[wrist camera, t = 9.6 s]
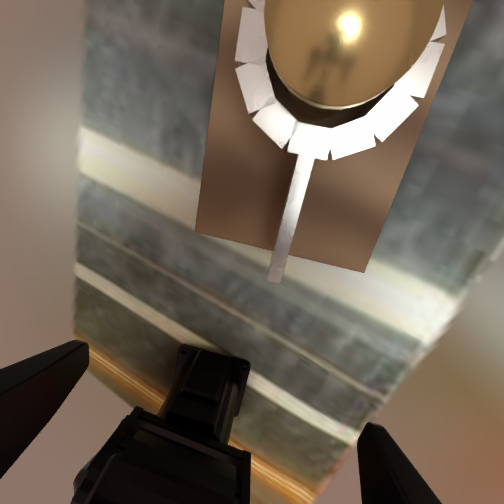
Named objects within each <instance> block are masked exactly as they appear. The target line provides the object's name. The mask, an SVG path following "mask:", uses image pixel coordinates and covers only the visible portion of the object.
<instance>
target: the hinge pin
mask: <svg viewBox="0 0 504 504" xmlns="http://www.w3.org/2000/svg"><path fill="white" fill-rule="evenodd" d="M443 4H444V0H265V6H264V24H265V33H266V39H267V44H268V48H269V53H270V57H271V60H272V63H273V66H274V68H275V70H276V72H277V74H278V76H279V78H280V79H281V81H282V82H283V84H284V85H285V86H286V87H287V89H288V96H289V100H290V103H291V105H292V107H293V108H294V110H295V111H296V112H297V113H298V114H299V115H300V116H301V117H303V118H305V119H307V120H311V121H322V120H326V119H329V118H331V117H333V116H334V115H336V114H337V113H338V112H339V111H340V110H341V109H346V108H351V107H355V106H358V105H361V104H363V103H365V102H368V101H370V100H372V99H373V98H375V97H376V96H378V95H380V94H381V93H383V92H384V91H385V90H387V89H388V88H389V87H391V86H392V85H393V84H394V83H396V82H397V81H398V80H399V79H401V78H402V77H403V76H404V75H405V74H406V73H407V72H408V71H409V70H410V69H411V67H412V66H413V65H414V64H415V62H416V61H417V60H418V59H419V57H420V56H421V54H422V53H423V51H424V50H425V48H426V47H427V45H428V43H429V41H430V39H431V37H432V35H433V33H434V31H435V28H436V26H437V24H438V21H439V18H440V15H441V11H442V8H443Z"/></svg>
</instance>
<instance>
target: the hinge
mask: <svg viewBox="0 0 504 504" xmlns="http://www.w3.org/2000/svg"><path fill="white" fill-rule="evenodd" d="M247 4H248V8H246V7H243V8H242V15H241V21H240V28H239V35H238V41H237V48H236V55H235V62H236V64H237V66H238V68H236V69H235V70H236V73H237V77H238V80H239V83H240V87H241V90H242V93H243V97H244V100H245V104H246V107H247V110H248V114H249V115H250V116H251V117H252V118H253V119H252V120H253V121H254V122H255V123H256V124H257V125H258V126H259V127H260V128H261V129H262V130H263V131H264V132H265V133H266V134H267V135H268V136H269V137H270V138H271V139H272V140H273V141H274V142H275V143H276V144H277V145H278V146H279V147H280V148H281V149H282V150H283V151H284V152H285V151H286V150H287V148H288V150H287V152H288V154H291V155H295V156H296V160H295V164H294V168H293V172H292V176H291V180H290V184H289V188H288V192H287V196H286V200H285V204H284V208H283V212H282V216H281V220H280V224H279V228H278V232H277V236H276V240H275V244H274V248H273V252H272V257H271V262H270V267H269V272H268V276H267V281H268V282H272V283H276V284H280V282H281V279H282V275H283V271H284V268H285V264H286V260H287V257H288V253H289V250H290V246H291V242H292V239H293V235H294V231H295V228H296V224H297V220H298V217H299V213H300V210H301V206H302V202H303V199H304V195H305V191H306V188H307V184H308V181H309V177H310V173H311V170H312V166H313V162H314V160H334V159H337V158H340V157H343V156H346V155H350V154H353V153H356V152H359V151H362V150H365V149H368V148H371V147H374V146H375V143H379V142H382V141H383V140H384V139H385V138H386V137H387V136H389V135H390V134H391V133H392V132H393V131H394V130H395V129H396V128H397V127H398V126H399V125H400V124H401V123H402V122H403V121H404V120H405V119H406V118H407V117H408V116H409V115H410V114H411V113H412V112H413V111H414V110H415V109H416V108H417V107H418V106H419V105H418V104H417V103H416V102H417V101H419V100H421V99H423V98H424V97H425V94H426V91H427V89H428V86H429V84H430V81H431V79H432V76H433V73H434V71H435V68H436V66H437V63H438V61H439V58H440V55H441V53H442V50H443V48H444V45H445V44H442V43H437V42H438V41H439V40H440V39H442V38H443V37H444V36H445V35H446V25H445V14H444V4H443V8H442V11H441V15H440V18H439V21H438V24H437V26H436V28H435V31H434V33H433V35H432V37H431V39H430V41H429V43H428V45H427V47H426V48H425V50H424V51H423V53H422V54H421V56H420V57H419V59H418V60H417V61H416V62H415V64H414V65H413V66H412V67H411V69H410V70H409V71H408V72H407V73H406V74H405V75H404V76H403V77H402V78H401V79H399V80H398V81H397V82H396V83H394V84H393V85H392V86H391V87H389V88H388V89H387V90H385V91H384V92H383V93H381V94H380V95H378V96H376V97H375V98H373V99H372V100H370V101H368V102H365V103H363V105H362V108H361V110H360V111H359V112H358V114H357V115H356V116H355V117H354V118H353V119H352V120H351V121H350V122H348V123H346V124H343V125H340V126H337V127H334V128H332V129H330V128H325V127H320V126H316V125H311V124H306V123H301V122H298V121H297V120H296V119H295V118H294V117H293V116H292V115H291V114H290V113H289V112H288V111H287V110H286V109H285V108H284V107H283V106H282V105H281V104H280V103H279V102H278V101H277V100H276V99H275V96H274V87H275V82H276V77H277V72H276V70H275V68H274V66H273V63H272V60H271V57H270V53H269V48H268V44H267V39H266V33H265V24H264V6H265V0H247Z"/></svg>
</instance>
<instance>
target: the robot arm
mask: <svg viewBox="0 0 504 504" xmlns="http://www.w3.org/2000/svg"><path fill="white" fill-rule="evenodd" d="M184 350H185V351H184ZM88 365H89V345H88V343H86V342H83V341H80V340H72V341H70V342H67V343H65V344H62V345H60V346H57V347H55V348H52V349H50V350H47V351H45V352H42V353H40V354H37V355H35V356H32V357H30V358H27V359H25V360H22V361H20V362H17V363H15V364H12V365H10V366H7V367H5V368H2V369H0V479H1V478H2V477H3V475H4V474H5V473H6V472H7V470H8V469H9V468H10V467H11V466H12V465H13V463H14V462H15V461H16V460H17V459H18V458H19V456H20V455H21V454H22V453H23V452H24V450H25V449H26V448H27V447H28V446H29V444H30V443H31V442H32V441H33V440H34V439H35V437H36V436H37V435H38V434H39V432H40V431H41V430H42V429H43V428H44V427H45V425H46V424H47V423H48V422H49V421H50V419H51V418H52V417H53V416H54V414H55V413H56V412H57V410H58V409H59V407H60V406H61V405H62V403H63V402H64V400H65V399H66V398H67V396H68V395H69V393H70V392H71V390H72V389H73V388H74V386H75V385H76V383H77V382H78V381H79V379H80V378H81V376H82V375H83V373H84V372H85V371H86V369H87V367H88ZM243 366H245V367H246V368H244V367H243ZM250 367H251V365H250V363H249V362H247V361H244V360H241V359H237V358H233V357H230V356H226V355H222V354H219V353H215V352H211V351H208V350H204V349H200V348H197V347H193V346H189V345H185V344H183V345H181V346H180V348H179V350H178V355H177V363H176V371H175V379H174V384H173V386H172V388H171V390H170V392H169V394H168V395H167V397H166V399H165V401H164V403H163V405H162V407H161V409H160V411H159V413H158V414H157V416H156V415H154V414H152V413H149V412H147V411H144V410H143V408H141V407H138V406H136V407H135V408H134V410H133V411H132V412H131V414H130V415H127V416H126V417H125V419H123V420H122V421H121V423H120V424H119V426H118V428H117V429H116V430H115V432H114V433H113V434H112V435H111V437H110V438H109V439H108V441H107V442H106V443H105V445H104V446H103V447H102V449H101V450H100V451H99V452H98V453H97V454H96V455H95V456H94V457H93V458H92V459H91V460H90V461H89V462H88V463H87V464H86V465H85V466H84V467H83V468H82V469H81V470H80V472H79V473H78V474H77V476H76V478H75V480H74V483H73V485H74V496H73V498H72V501H71V504H250V472H251V452H248V451H246V450H243V451H242V450H239V449H237V448H235V447H232V446H230V445H228V441H229V437H230V432H231V428H232V423H233V419H234V417H236V416H238V413H239V410H240V406H241V402H242V398H243V395H244V391H245V387H246V383H247V379H248V376H249V372H250ZM357 452H358V463H359V475H360V485H361V497H362V504H442V503H441V502H440V500H439V499H438V498H437V496H436V495H435V494H434V492H433V491H432V490H431V488H430V487H429V486H428V484H427V483H426V482H425V481H424V479H423V478H422V477H421V475H420V474H419V473H418V471H417V470H416V469H415V468H414V466H413V465H412V463H411V462H410V461H409V459H408V458H407V457H406V456H405V454H404V453H403V452H402V450H401V449H400V448H399V446H398V445H397V444H396V442H395V441H394V440H393V439H392V437H391V436H390V435H389V433H388V432H387V430H386V429H385V428H384V427H383V426H382V425H379V424H376V423H372V422H368V423H367V424H366V425H365V427H364V429H363V431H362V433H361V434H360V436H359V438H358V442H357Z"/></svg>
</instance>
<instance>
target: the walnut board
mask: <svg viewBox="0 0 504 504" xmlns="http://www.w3.org/2000/svg"><path fill="white" fill-rule="evenodd" d="M472 3H473V0H444V14H445V25H446V35H445V36H444V37H443V38H442V39H440V40H439V41H438V42H437V43H442V44H445V45H444V48H443V50H442V53H441V55H440V58H439V61H438V63H437V66H436V68H435V71H434V73H433V76H432V79H431V81H430V84H429V86H428V89H427V91H426V94H425V97H424V98H423V99H421V100H419V101H417V102H416V103H417V104H418V105H419V106H418V107H417V108H416V109H415V110H414V111H413V112H412V113H411V114H410V115H409V116H408V117H407V118H406V119H405V120H404V121H403V122H402V123H401V124H400V125H399V126H398V127H397V128H396V129H395V130H394V131H393V132H392V133H391V134H390V135H389V136H387V137H386V138H385V139H384V140H383V141H382V142H379V143H375V146H374V147H371V148H368V149H365V150H362V151H359V152H356V153H353V154H350V155H346V156H343V157H340V158H337V159H334V160H314V162H313V166H312V170H311V173H310V177H309V181H308V184H307V188H306V191H305V195H304V199H303V202H302V206H301V210H300V213H299V217H298V220H297V224H296V228H295V231H294V235H293V239H292V242H291V246H290V250H289V253H288V255H292V256H296V257H300V258H304V259H309V260H313V261H317V262H321V263H325V264H329V265H333V266H337V267H341V268H345V269H350V270H354V271H358V272H362V273H364V272H365V269H366V267H367V264H368V262H369V259H370V257H371V254H372V252H373V249H374V247H375V244H376V242H377V239H378V237H379V234H380V232H381V229H382V227H383V224H384V222H385V219H386V217H387V215H388V212H389V210H390V207H391V205H392V202H393V200H394V197H395V195H396V192H397V190H398V187H399V185H400V182H401V180H402V177H403V175H404V172H405V170H406V167H407V165H408V162H409V160H410V157H411V155H412V152H413V150H414V147H415V145H416V142H417V140H418V137H419V135H420V132H421V130H422V127H423V125H424V122H425V120H426V117H427V115H428V112H429V110H430V107H431V105H432V102H433V100H434V97H435V95H436V93H437V90H438V88H439V85H440V83H441V80H442V78H443V75H444V73H445V70H446V68H447V65H448V63H449V60H450V58H451V55H452V53H453V50H454V48H455V45H456V43H457V40H458V38H459V35H460V33H461V30H462V28H463V25H464V23H465V20H466V18H467V15H468V13H469V10H470V8H471V5H472ZM243 7H246V8H248V4H247V0H225V3H224V11H223V18H222V26H221V34H220V41H219V49H218V57H217V65H216V72H215V80H214V88H213V95H212V103H211V111H210V119H209V126H208V134H207V142H206V150H205V157H204V165H203V173H202V180H201V188H200V196H199V204H198V211H197V219H196V227H195V232H198V233H202V234H206V235H210V236H214V237H218V238H222V239H226V240H231V241H235V242H239V243H243V244H247V245H251V246H255V247H259V248H263V249H267V250H272V251H273V248H274V244H275V240H276V236H277V232H278V228H279V224H280V220H281V216H282V212H283V208H284V204H285V200H286V196H287V192H288V188H289V184H290V180H291V176H292V172H293V168H294V164H295V160H296V156H295V155H291V154H288V152H287V150H288V148H287V150H286V151H285V152H284V151H283V150H282V149H281V148H280V147H279V146H278V145H277V144H276V143H275V142H274V141H273V140H272V139H271V138H270V137H269V136H268V135H267V134H266V133H265V132H264V131H263V130H262V129H261V128H260V127H259V126H258V125H257V124H256V123H255V122H254V121H253V120H252V119H253V118H252V117H251V116H250V115H249V114H248V110H247V107H246V104H245V100H244V97H243V93H242V90H241V87H240V83H239V80H238V77H237V73H236V70H235V69H236V68H238V66H237V64H236V62H235V55H236V48H237V41H238V35H239V28H240V21H241V15H242V8H243ZM274 96H275V99H276V100H277V101H278V102H279V103H280V104H281V105H282V106H283V107H284V108H285V109H286V110H287V111H288V112H289V113H290V114H291V115H292V116H293V117H294V118H295V119H296V120H297V121H298V122H301V123H306V124H311V125H316V126H320V127H325V128H330V129H332V128H334V127H337V126H340V125H343V124H346V123H348V122H350V121H351V120H352V119H353V118H354V117H355V116H356V115H357V114H358V112H359V111H360V110H361V108H362V105H363V104H361V105H358V106H355V107H351V108H346V109H341V110H340V111H339V112H338V113H337V114H336V115H334V116H333V117H331V118H329V119H326V120H322V121H311V120H307V119H305V118H303V117H301V116H300V115H299V114H298V113H297V112H296V111H295V110H294V108H293V107H292V105H291V103H290V100H289V96H288V89H287V87H286V86H285V85H284V84H283V82H282V81H281V79H280V78H279V76H278V74H277V77H276V82H275V87H274Z"/></svg>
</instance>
